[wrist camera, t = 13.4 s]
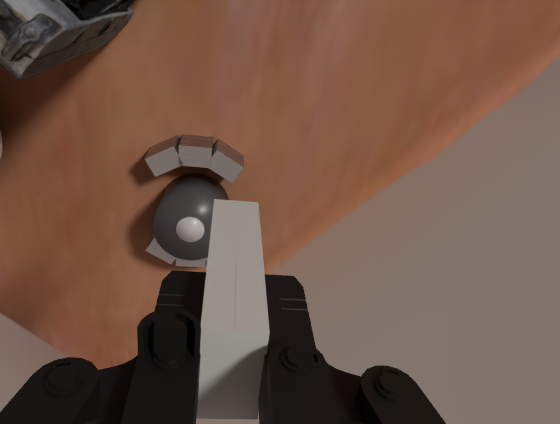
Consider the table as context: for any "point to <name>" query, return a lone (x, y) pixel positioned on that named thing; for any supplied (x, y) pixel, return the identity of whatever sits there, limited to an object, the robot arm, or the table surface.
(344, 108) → the table surface
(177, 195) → the cap
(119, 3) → the vintage camera
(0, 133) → the spoon rest
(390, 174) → the table surface
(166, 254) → the grey segmented ring
